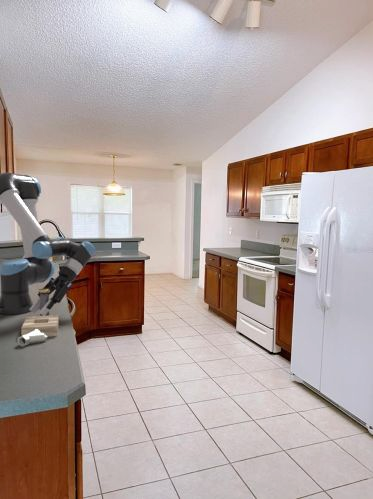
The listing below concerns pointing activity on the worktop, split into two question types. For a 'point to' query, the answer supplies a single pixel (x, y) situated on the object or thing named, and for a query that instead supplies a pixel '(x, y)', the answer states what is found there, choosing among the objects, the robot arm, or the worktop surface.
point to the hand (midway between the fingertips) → (36, 313)
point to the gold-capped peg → (44, 298)
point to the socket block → (41, 325)
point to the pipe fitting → (32, 338)
